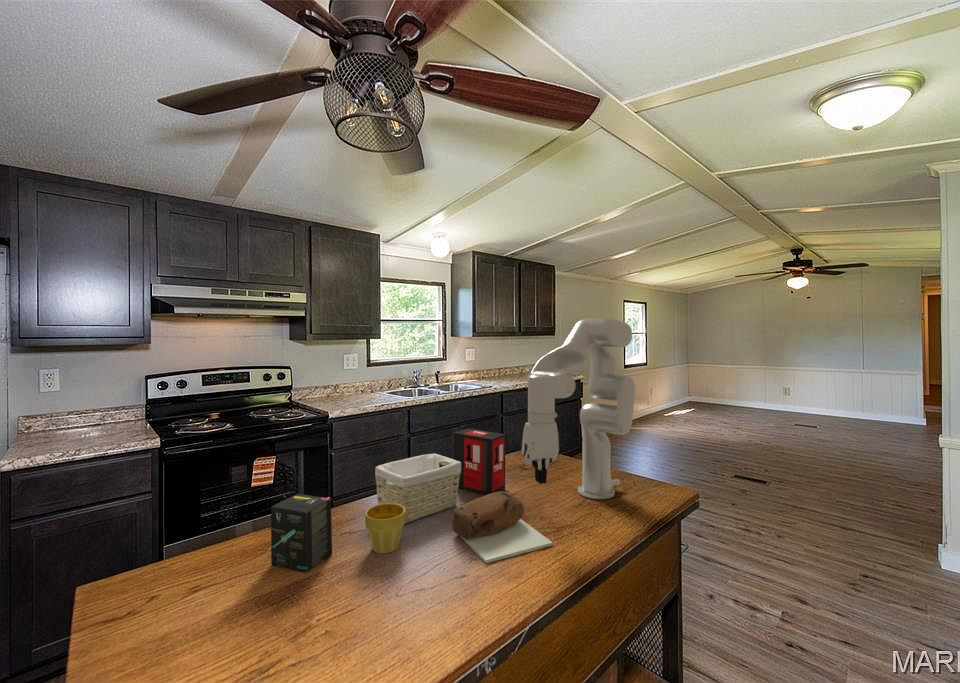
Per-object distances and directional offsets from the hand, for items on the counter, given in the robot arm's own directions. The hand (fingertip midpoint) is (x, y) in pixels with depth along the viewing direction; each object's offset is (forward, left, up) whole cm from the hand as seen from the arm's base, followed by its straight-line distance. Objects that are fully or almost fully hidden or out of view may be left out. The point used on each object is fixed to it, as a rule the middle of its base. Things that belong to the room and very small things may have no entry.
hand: (540, 482), depth 122 cm
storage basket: (+26, -30, -14) cm, 42 cm away
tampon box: (+62, -13, -14) cm, 65 cm away
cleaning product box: (+1, -37, -14) cm, 40 cm away
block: (+3, -10, -9) cm, 14 cm away
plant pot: (+42, -10, -14) cm, 46 cm away
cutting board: (+12, 0, -14) cm, 18 cm away
